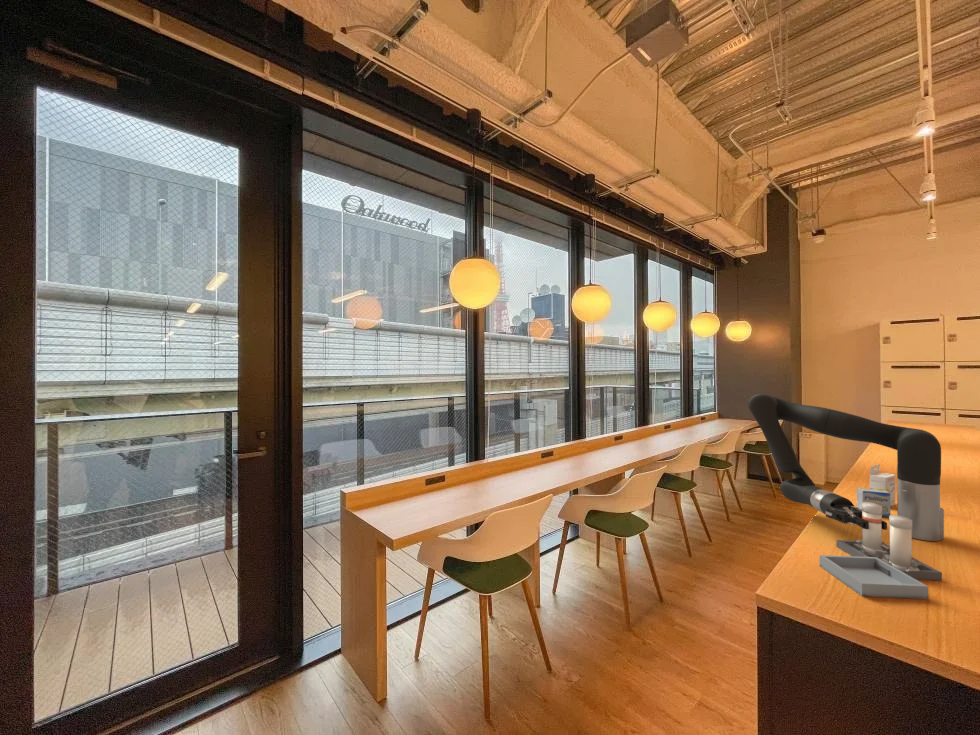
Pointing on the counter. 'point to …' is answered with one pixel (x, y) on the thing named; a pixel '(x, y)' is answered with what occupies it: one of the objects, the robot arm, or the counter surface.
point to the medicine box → (874, 499)
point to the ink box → (883, 482)
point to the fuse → (900, 541)
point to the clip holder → (916, 572)
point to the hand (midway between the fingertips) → (876, 526)
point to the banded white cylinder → (872, 528)
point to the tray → (873, 577)
